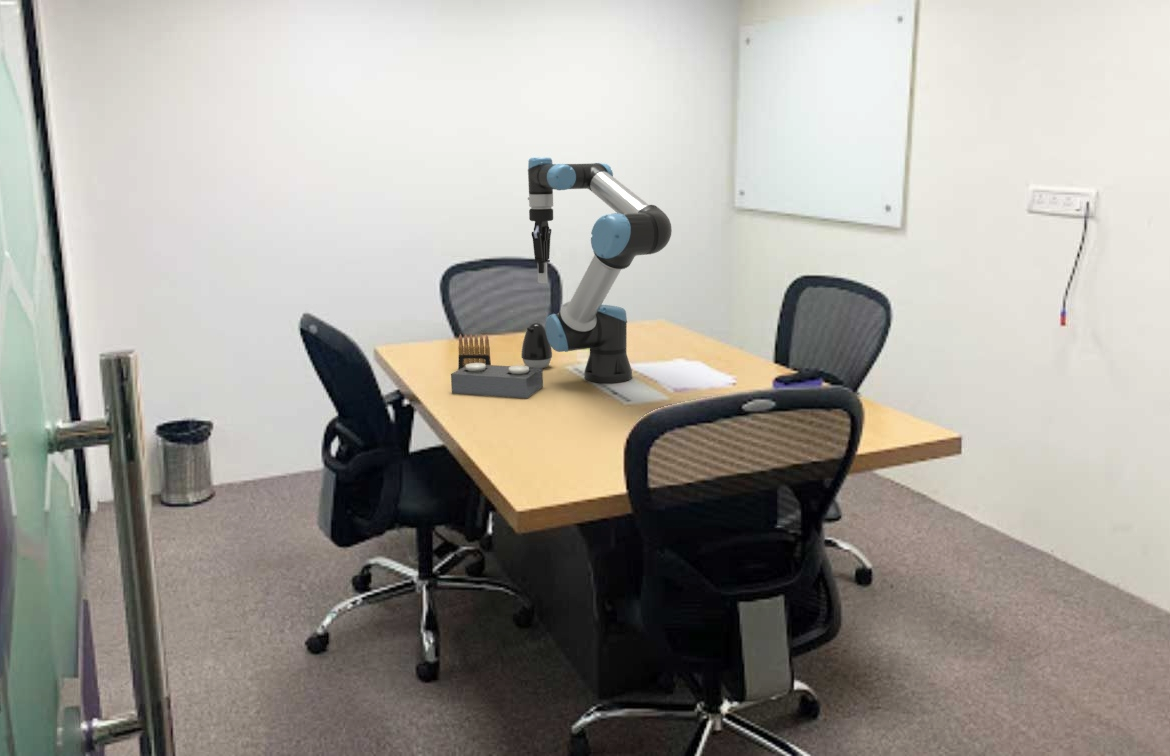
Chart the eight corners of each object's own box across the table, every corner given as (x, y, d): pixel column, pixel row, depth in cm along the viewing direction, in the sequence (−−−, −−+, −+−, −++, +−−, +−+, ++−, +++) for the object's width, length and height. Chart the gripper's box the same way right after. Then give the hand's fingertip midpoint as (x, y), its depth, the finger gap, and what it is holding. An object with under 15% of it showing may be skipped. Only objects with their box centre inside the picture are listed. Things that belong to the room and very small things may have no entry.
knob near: (532, 388, 284) (531, 366, 282) (525, 393, 278) (524, 370, 276) (513, 387, 285) (513, 364, 284) (506, 392, 280) (505, 369, 278)
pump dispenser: (515, 369, 311) (514, 324, 307) (531, 362, 320) (530, 319, 316) (542, 372, 306) (541, 326, 303) (557, 365, 315) (557, 321, 312)
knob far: (489, 385, 288) (488, 363, 286) (481, 390, 282) (480, 367, 280) (471, 384, 289) (470, 362, 288) (463, 389, 284) (462, 366, 282)
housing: (542, 387, 287) (542, 368, 285) (526, 398, 274) (526, 378, 272) (470, 382, 294) (469, 363, 292) (451, 393, 281) (450, 373, 279)
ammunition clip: (458, 370, 311) (456, 334, 308) (459, 368, 313) (458, 333, 310) (490, 370, 310) (489, 334, 307) (491, 369, 312) (490, 333, 309)
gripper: (536, 206, 300) (538, 279, 306) (522, 209, 288) (524, 285, 294) (558, 206, 298) (560, 280, 304) (546, 209, 286) (547, 286, 292)
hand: (542, 282), depth 299 cm, fingers closed
